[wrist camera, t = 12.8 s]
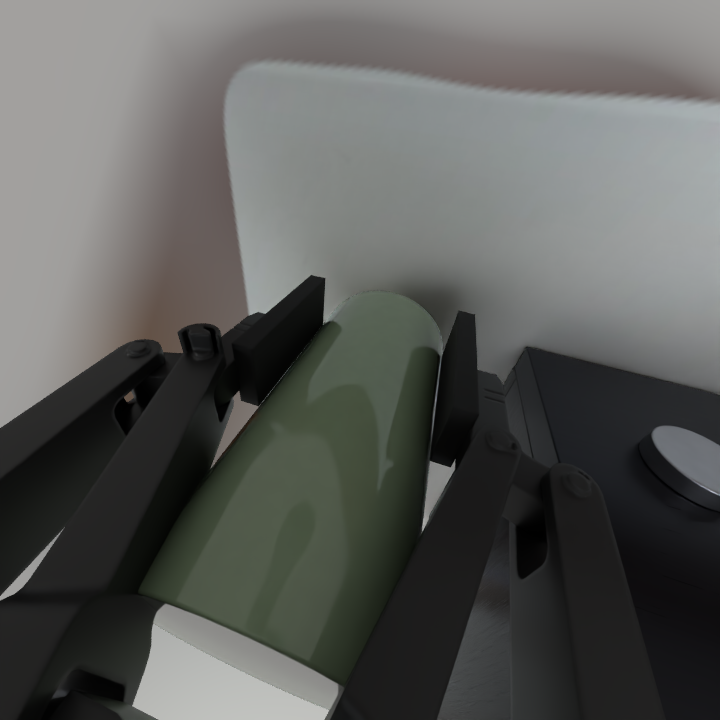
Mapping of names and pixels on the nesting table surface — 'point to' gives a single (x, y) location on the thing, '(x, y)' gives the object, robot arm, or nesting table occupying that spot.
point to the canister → (310, 506)
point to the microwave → (616, 525)
